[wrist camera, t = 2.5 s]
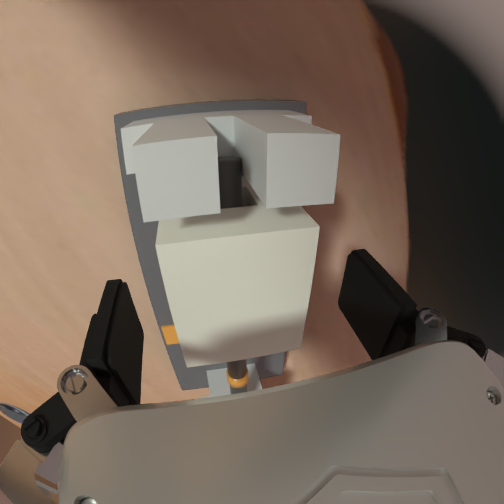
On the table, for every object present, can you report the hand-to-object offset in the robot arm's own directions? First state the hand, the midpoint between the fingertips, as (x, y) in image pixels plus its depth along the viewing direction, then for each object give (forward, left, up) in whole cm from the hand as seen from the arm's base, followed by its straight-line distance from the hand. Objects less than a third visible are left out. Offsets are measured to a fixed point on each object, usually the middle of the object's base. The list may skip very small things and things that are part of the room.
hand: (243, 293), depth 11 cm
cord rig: (+5, 0, -8) cm, 9 cm away
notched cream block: (-1, 0, -4) cm, 4 cm away
